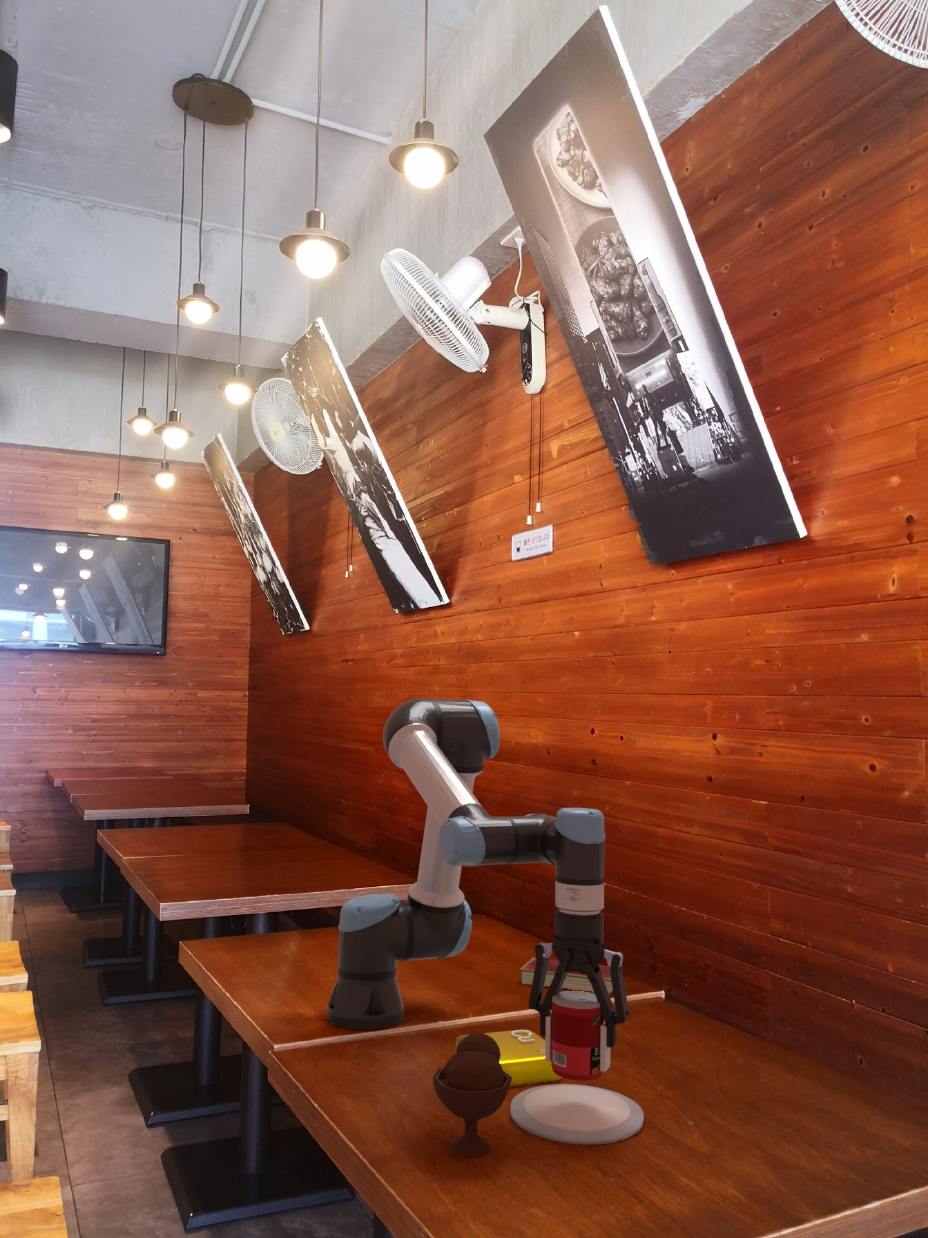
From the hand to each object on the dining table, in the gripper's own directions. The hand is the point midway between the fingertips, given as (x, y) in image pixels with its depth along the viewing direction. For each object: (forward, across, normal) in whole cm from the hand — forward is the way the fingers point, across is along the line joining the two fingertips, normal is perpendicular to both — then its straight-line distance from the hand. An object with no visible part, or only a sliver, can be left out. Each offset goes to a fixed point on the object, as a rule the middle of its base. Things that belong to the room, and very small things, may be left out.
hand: (577, 1063), depth 146 cm
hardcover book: (+8, -25, +71) cm, 76 cm away
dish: (+8, 0, 0) cm, 8 cm away
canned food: (+1, 0, 0) cm, 1 cm away
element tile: (+8, -17, +14) cm, 23 cm away
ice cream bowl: (+8, -10, -18) cm, 22 cm away
